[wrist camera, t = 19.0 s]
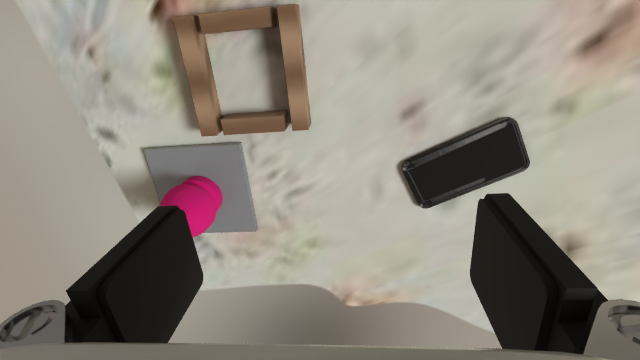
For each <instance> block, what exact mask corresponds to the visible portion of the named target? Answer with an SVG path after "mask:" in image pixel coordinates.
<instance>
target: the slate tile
mask: <svg viewBox="0 0 640 360" xmlns="http://www.w3.org/2000/svg"><path fill="white" fill-rule="evenodd" d="M144 153H145V156H146V159H147V162H148V165H149V169H150V172H151V175H152V178H153V181H154V184H155V187H156V190H157V194H158V197H159V200H160V203H161V201H162V199H163V197H164V196H165V194H166V193H167V192H168V191H169V190H170V189H172V188H173V187H175V186H177V185H181V184H182V183H183V182H184V181H186V180H187V179H188V178H190V177H194V176H202V177H206V178H209V179H210V180H212V181H213V182H215V183H216V184H217V185H218V187H219V188H220V190H221V192H222V197H223V200H222V204H221V206H220V208H219V209H218V211H217V212H216V217H215V220H214V222H213V223H212V225H211V226H210V227H209V228H208V229H207V230H206V231H205V232H203V233H216V232H254V231H257V229H258V226H257V221H256V216H255V211H254V205H253V200H252V195H251V190H250V185H249V180H248V174H247V169H246V164H245V159H244V154H243V148H242V143H241V142H236V143H219V144H202V145H185V146H168V147H151V148H146V149H144Z"/></svg>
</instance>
